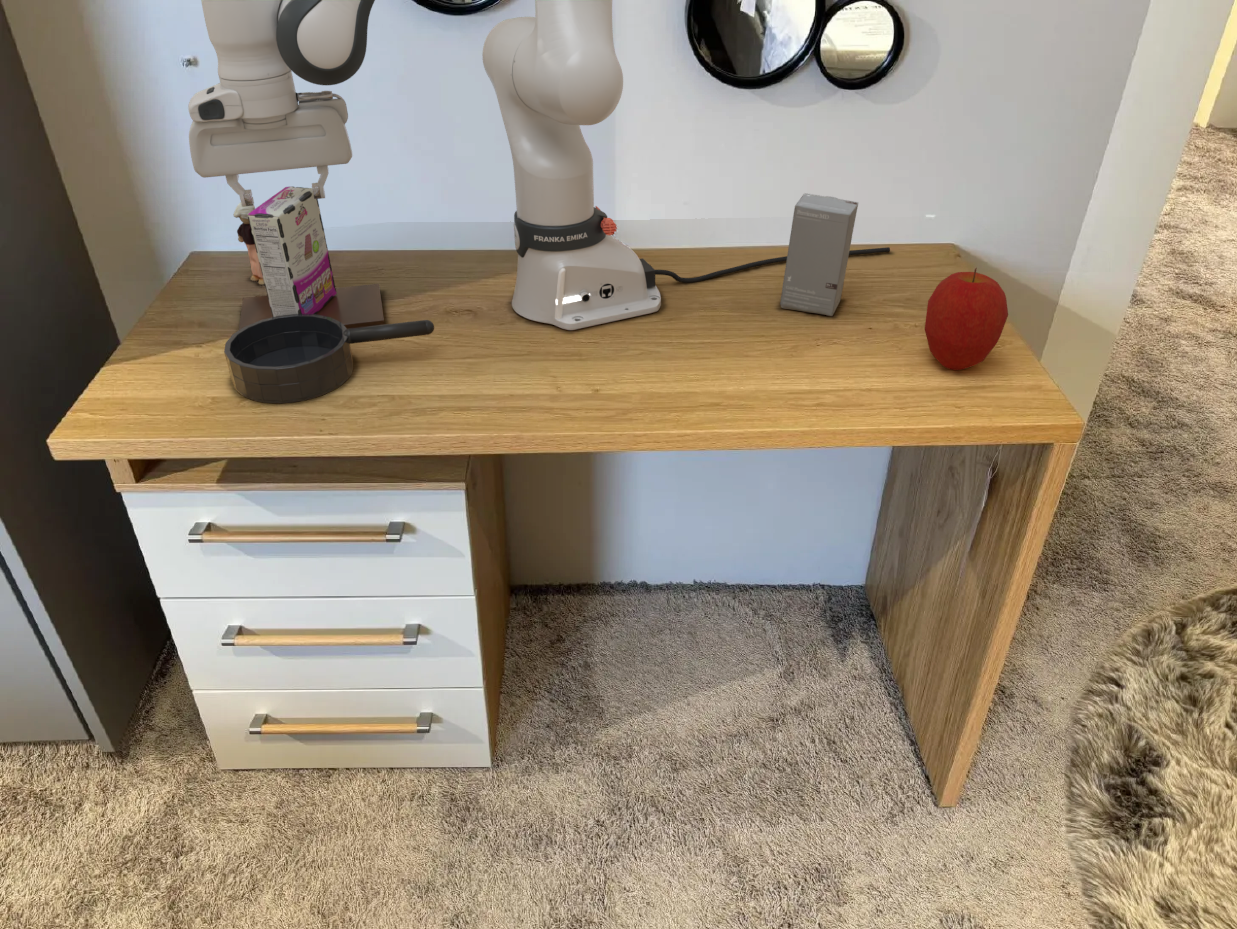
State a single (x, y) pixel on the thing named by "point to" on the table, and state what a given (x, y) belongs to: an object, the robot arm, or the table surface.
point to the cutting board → (329, 307)
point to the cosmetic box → (818, 254)
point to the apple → (965, 319)
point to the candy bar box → (293, 252)
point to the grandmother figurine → (248, 240)
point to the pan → (289, 358)
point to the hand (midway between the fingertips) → (284, 201)
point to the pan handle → (389, 331)
